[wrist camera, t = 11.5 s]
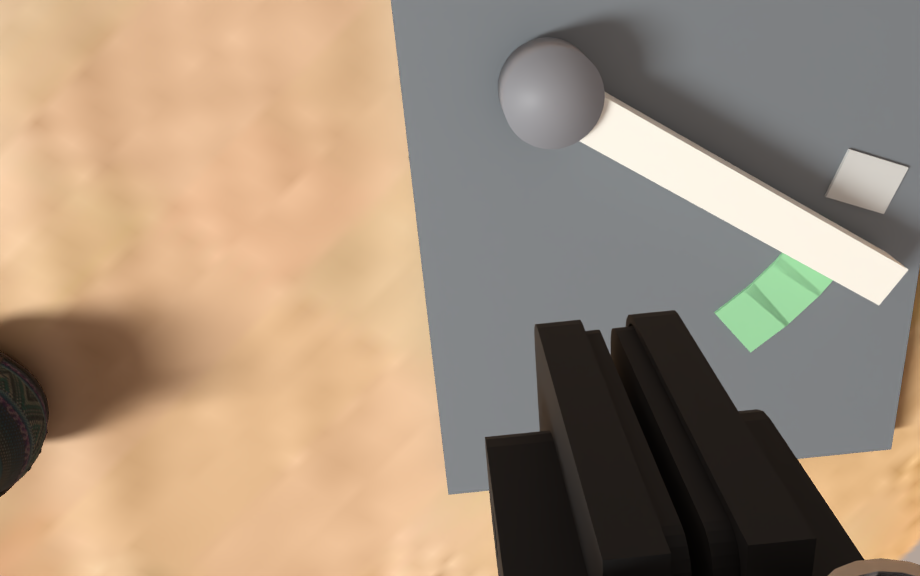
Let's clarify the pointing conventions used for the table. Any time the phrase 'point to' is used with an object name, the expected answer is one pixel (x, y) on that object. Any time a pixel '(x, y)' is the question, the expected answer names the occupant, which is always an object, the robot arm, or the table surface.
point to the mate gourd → (19, 421)
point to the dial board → (666, 204)
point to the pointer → (677, 164)
